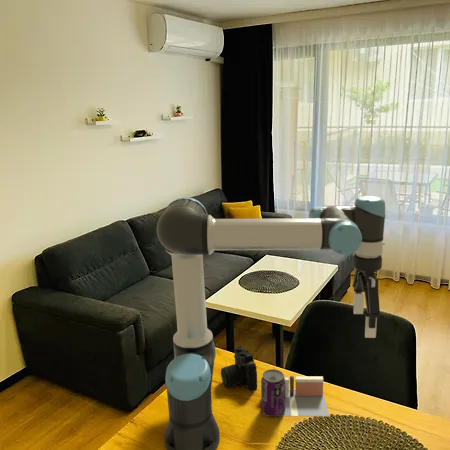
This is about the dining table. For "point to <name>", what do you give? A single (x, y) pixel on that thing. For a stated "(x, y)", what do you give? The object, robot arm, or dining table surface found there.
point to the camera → (241, 370)
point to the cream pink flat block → (309, 386)
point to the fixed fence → (290, 386)
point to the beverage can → (273, 392)
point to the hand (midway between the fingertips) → (363, 324)
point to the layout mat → (305, 406)
